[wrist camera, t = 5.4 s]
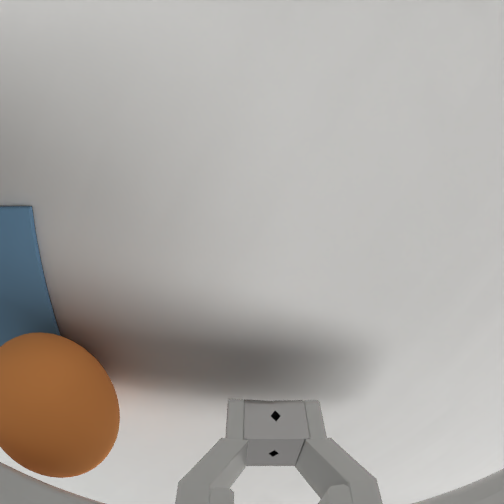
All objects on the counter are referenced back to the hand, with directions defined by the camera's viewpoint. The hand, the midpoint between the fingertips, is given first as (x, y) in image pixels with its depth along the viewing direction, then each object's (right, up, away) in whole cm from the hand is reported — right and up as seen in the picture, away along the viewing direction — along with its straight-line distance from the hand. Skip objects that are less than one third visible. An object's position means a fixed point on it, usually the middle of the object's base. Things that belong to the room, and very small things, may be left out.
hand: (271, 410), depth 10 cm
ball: (-8, 0, -1) cm, 8 cm away
